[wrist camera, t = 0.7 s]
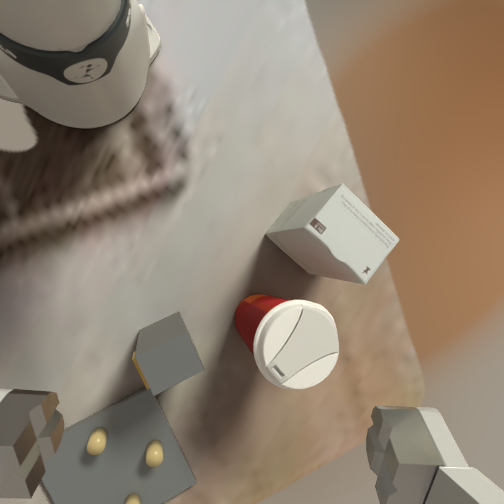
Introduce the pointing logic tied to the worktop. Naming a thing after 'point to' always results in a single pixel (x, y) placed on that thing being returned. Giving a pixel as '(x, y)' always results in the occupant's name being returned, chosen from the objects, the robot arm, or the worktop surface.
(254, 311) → the coffee cup
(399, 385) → the worktop surface
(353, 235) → the skincare box
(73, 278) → the worktop surface
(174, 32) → the worktop surface
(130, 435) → the slate board
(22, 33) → the robot arm
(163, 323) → the plug block
